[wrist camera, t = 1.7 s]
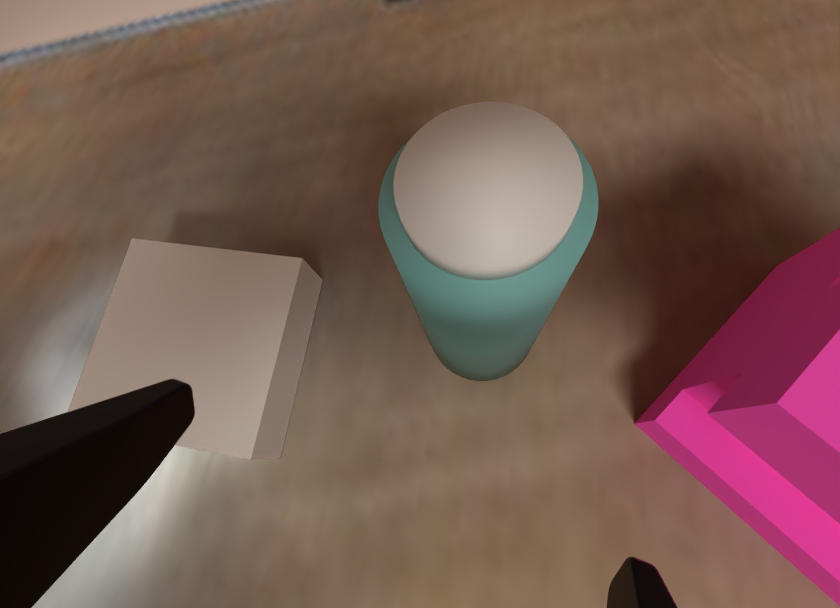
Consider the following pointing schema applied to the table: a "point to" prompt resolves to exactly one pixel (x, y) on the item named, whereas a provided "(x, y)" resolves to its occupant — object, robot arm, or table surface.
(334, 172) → the table surface
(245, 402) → the block
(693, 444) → the bracket
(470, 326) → the thermos
